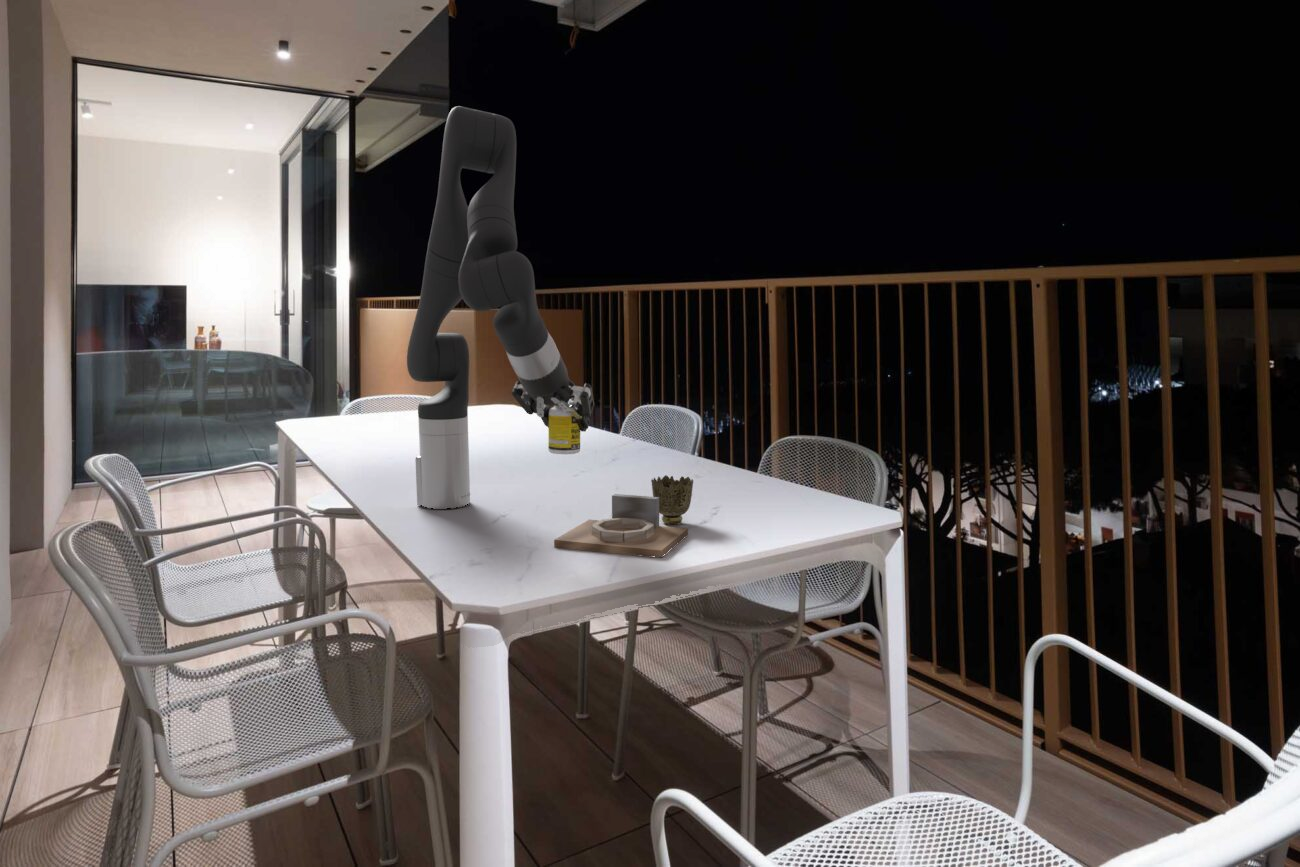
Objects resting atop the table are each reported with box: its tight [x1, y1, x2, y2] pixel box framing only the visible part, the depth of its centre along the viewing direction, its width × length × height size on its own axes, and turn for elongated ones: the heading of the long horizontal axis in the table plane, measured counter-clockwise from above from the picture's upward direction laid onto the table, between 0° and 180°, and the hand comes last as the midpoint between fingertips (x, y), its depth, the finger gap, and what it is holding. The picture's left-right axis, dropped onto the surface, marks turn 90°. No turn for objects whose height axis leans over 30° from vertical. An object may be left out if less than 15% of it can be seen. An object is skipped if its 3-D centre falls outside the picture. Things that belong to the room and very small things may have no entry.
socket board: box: [553, 493, 689, 558], centre depth 133 cm, size 18×14×6 cm
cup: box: [650, 474, 694, 526], centre depth 145 cm, size 8×7×8 cm
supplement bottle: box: [547, 401, 581, 455], centre depth 138 cm, size 5×5×10 cm
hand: (568, 426), depth 140 cm, fingers closed on supplement bottle, 5 cm apart
